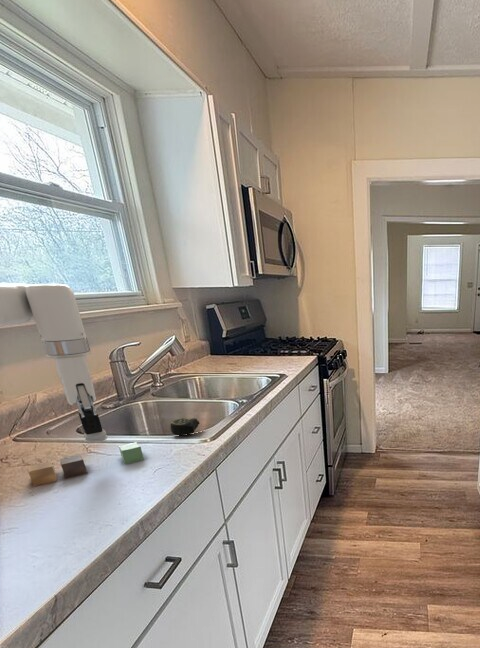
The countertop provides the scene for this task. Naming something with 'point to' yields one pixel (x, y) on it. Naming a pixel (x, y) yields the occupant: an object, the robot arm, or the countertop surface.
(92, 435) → the rook chess piece
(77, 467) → the walnut block
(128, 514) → the countertop surface
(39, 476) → the maple block
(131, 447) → the sage block
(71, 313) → the robot arm
